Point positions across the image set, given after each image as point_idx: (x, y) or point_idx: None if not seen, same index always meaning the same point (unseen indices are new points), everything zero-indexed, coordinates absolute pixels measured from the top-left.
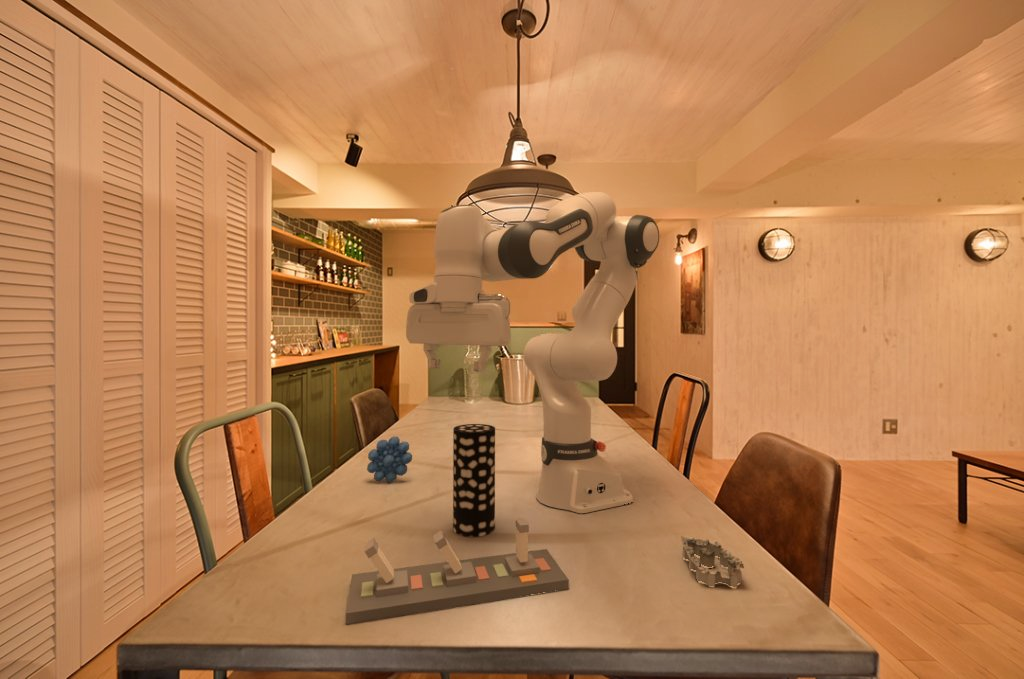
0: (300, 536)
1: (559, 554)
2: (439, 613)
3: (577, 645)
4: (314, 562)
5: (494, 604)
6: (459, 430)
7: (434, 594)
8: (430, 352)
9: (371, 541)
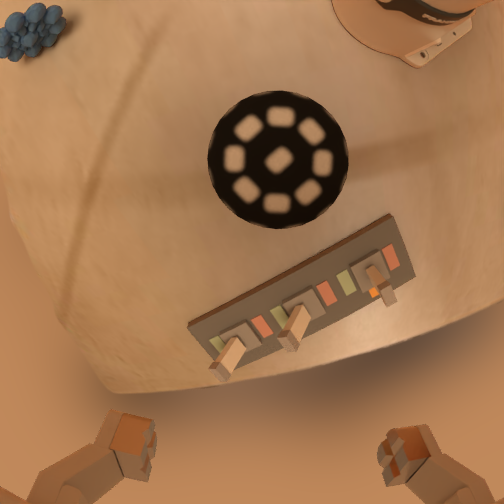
0: (62, 249)
1: (402, 201)
2: None
3: (410, 337)
4: (121, 296)
5: None
6: (243, 206)
7: None
8: (88, 492)
9: (217, 373)
